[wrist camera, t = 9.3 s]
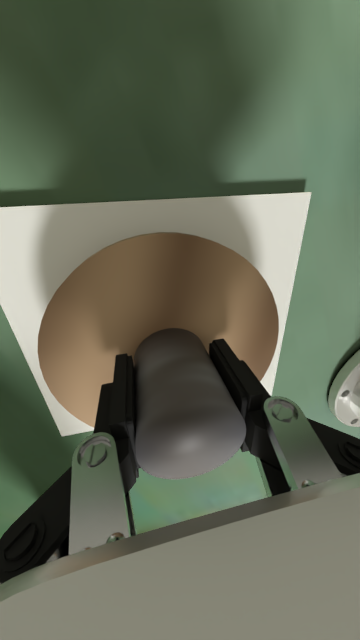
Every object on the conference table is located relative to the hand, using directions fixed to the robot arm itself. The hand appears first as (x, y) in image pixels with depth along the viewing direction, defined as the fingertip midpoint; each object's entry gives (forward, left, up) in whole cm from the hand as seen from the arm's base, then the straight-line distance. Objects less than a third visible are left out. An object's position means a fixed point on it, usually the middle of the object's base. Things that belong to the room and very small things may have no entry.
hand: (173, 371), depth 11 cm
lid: (0, 0, -2) cm, 2 cm away
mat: (0, 0, -5) cm, 5 cm away
